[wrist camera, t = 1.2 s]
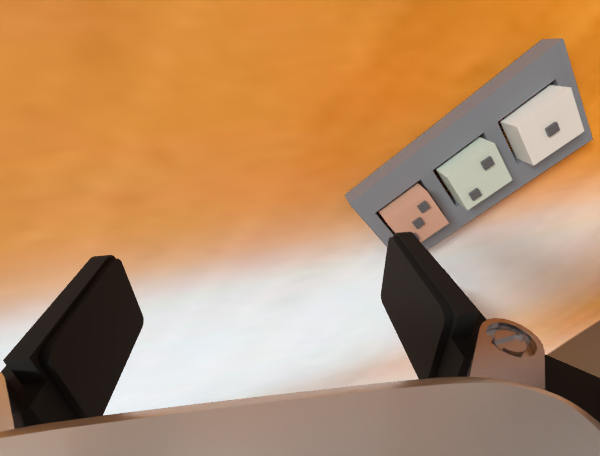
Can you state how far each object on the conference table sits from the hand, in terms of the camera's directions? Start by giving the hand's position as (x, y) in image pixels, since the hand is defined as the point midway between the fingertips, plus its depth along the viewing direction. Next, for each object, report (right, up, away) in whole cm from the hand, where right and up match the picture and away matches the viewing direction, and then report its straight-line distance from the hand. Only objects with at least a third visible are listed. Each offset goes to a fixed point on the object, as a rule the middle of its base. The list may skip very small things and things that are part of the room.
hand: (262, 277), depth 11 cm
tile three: (+14, +4, +25) cm, 28 cm away
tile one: (+25, +13, +21) cm, 35 cm away
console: (+20, +9, +24) cm, 32 cm away
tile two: (+20, +8, +23) cm, 31 cm away
